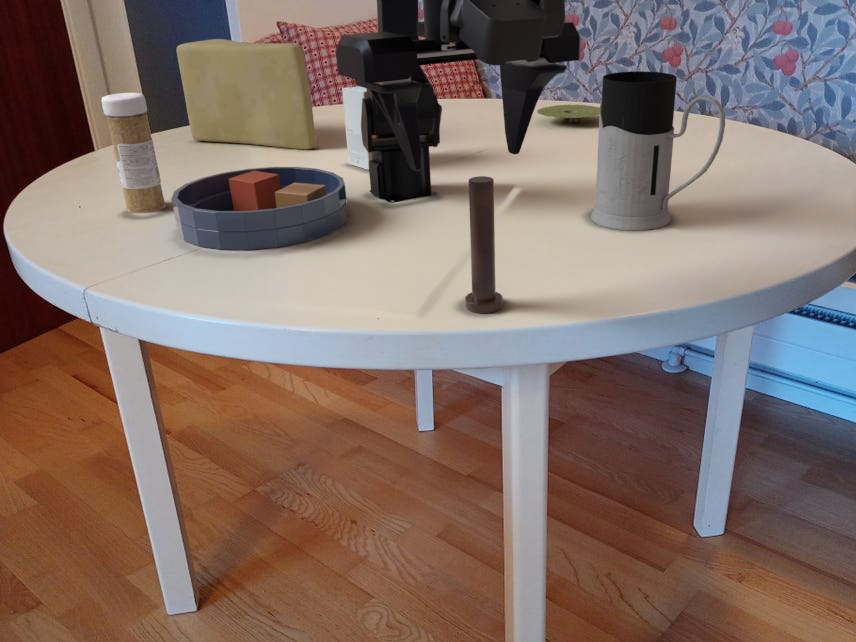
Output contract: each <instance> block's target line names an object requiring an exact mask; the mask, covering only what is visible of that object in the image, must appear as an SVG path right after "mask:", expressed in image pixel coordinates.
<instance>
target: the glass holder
mask: <svg viewBox="0 0 856 642" xmlns="http://www.w3.org/2000/svg"><path fill="white" fill-rule="evenodd" d="M677 80H678V77H677V75H675V74H671V73H667V72H660V71H645V70H644V71H639V70H638V71H619V72H613V73H608V74H604V75H603V76H602V90H601V102H600V105H599V108H600V115H599V117H598V118H599V120H598V141H597V161H596V162H597V163H596V164H597V165H596V186H595V205H594V208H593V211H592V213H591V215H590V218H591V221H592V222H594V223H595V224H597V225H598V226H601V227H604V228H608V229H612V230H613V229H614V230H620V231H648V230H655V229H658V228H662V227H665V226H667V225H669V224H670V222H671V214H670V212H669V207H668V206H669V205H668V204H669V200H670V199H671V198H673V196H675V195H676V194H678V193H680V192H681V191H682V190H684V189H685V188H687V187H688V186H690V185H691V184H692V183H694V182H695V181H696V180H698V179H699V178H700V177H702V176H703V175H704V174H706V172H708V170H709V168H710V167H711V165H712V164H713V163H714V161H715V159H716V157H717V155H718V153H719V150H720V148H721V145H722V143H723V139H724V134H725V128H726V112H725V110H724V107H723V105H722V103H720V102H719V101H718V100H717V99H715V98H713V97H712V96H708V95H702V96H697V97H695V98H694V99H692V100H690V102H689V103H688V104H687V105H686V107H685V109H684V111H683V113H682V118H681V126H680V130H679V132H677V133H675V127H674V117H675V116H674V115H675V104H676V103H675V102H676V93H677V92H676V91H677ZM701 101H707V102H709V103H710V104H713V105H714V106H715V108H716V109H717V112H718V115H719V127H718V132H717V139H716V142H715V145H714V147H713V150H712V152H711V154H710V156H709V157H708V159H707V161H706V162H705V164H704V165H703V166H702V168H701V169H700V170H699V171H698V172H696V174H695V175H693V176H692V177H691V178H689V179H688V180H687V181H686V182H683V184H681V185H679V186H678V187H676V188H675V189H674V190H672V191H671V192H670V185H671V184H670V182H671V170H672V159H673V158H672V157H673V150H674V149H673V148H674V138H675V139H676V138H679V137H682V136H683V135H684V134H685V132H686V131H687V127H688V120H689V119H688V118H689V114H690V112H691V110H692V108H693V107H694V106H695V104H697V103H698V102H701Z"/></svg>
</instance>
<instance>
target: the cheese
mask: <svg viewBox="0 0 856 642" xmlns="http://www.w3.org/2000/svg"><path fill="white" fill-rule="evenodd" d="M176 56H177V62H178V68H179V73H180V77H181V78H180V79H181V83H182V90H183V94H184V100H185V106H186V111H187V117H188V118H187V119H188V123H189V129H190V133H191V137H192V139H193V141H197V142H212V143H231V144H242V145H243V144H245V145H254V146H255V145H257V146H264V147H265V146H267V147H275V148H284V149H285V148H286V149H296V150H311V149H314V148H316V147H317V136H316V128H315V121H314V113H313V102H312V93H311V86H310V80H309V75H308V69H307V65H306V60H305V53H304V48H303V47H302V45H300V44H299V43H295V42H283V43H282V42H281V43H249V42H248V43H246V42H240V41H236V40H231V39H224V38H213V39H212V38H211V39H206V40H197V41H191V42H185V43H182V44H179V45H177V46H176Z"/></svg>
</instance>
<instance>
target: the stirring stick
mask: <svg viewBox="0 0 856 642" xmlns="http://www.w3.org/2000/svg"><path fill="white" fill-rule="evenodd" d="M468 197H469V198H468V203H469V235H470V236H469V237H470V238H469V239H470V240H469V241H470V264H471V265H470V270H471V272H470V273H471V292H469V293H468V294H467V295H465V298H464V299H465V300H464V301H465V303H464V305H465V309H467V311H469V312H472V313H477V314H490V313H495V312H497V311H499V310H501V309H502V308H503V306H504V302H503V299H504V298H503V295H502V294H501V293H499V292H498V291H496V242H495V241H496V236H495V233H496V232H495V180H494V178H493V177H491V176H483V175H481V176H473V177H470V178H469V179H468Z"/></svg>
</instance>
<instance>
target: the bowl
mask: <svg viewBox="0 0 856 642" xmlns="http://www.w3.org/2000/svg"><path fill="white" fill-rule="evenodd" d="M251 171H259V172H266V173H273V174H279V178H280V185H281V189H282V188H285V187H287V186H289V185H291V184H293V183H305V184H317V185H326V191H327V195H325V196H323V197H321V198H319V199H315V200H312V201H308V202H305V203H301V204H297V205H292V206H286V207H280V208H275V209H265V210H253V211H234V208H233V202H232V196H231V190H230V184H229V178H232V177H236V176H239V175H242V174H245V173H248V172H251ZM346 191H347V190H346V183H345V181H344V177H342V176H340V175H339V174H337V173H335V172H333V171H328V170H324V169H319V168H314V167H304V166H303V167H302V166H267V167H253V168H245V169H239V170H232V171H225V172H221V173H216V174H213V175H208V176H203V177H201V178H197V179H195V180H193V181H190V182H187V183H185V184H183V185H182V186H180V187H179V188H177V189H175V190H174V191H173V194H172V195H171V198H170V199H171V200H170V201H171V204H172V209H173V214H174V218H175V224H176V228H177V234H178V236H180V237H181V239H182V240H183V241H184V242H186V243H190V244H191V245H194V246H197V247H199V248H206V249H213V250H220V251H221V250H222V251H254V250H265V249H275V248H282V247H287V246H292V245H293V246H294V245H297V244H302V243H307V242H310V241H314V240H316V239H319V238H322V237H326V236H328V235H330V234H332V233H333V232H335V231H337V230H339V229H341V228H342V227H343V226H344V224H345V223H346V222H347V221H348V219H349V213H348V202H347V192H346Z"/></svg>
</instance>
